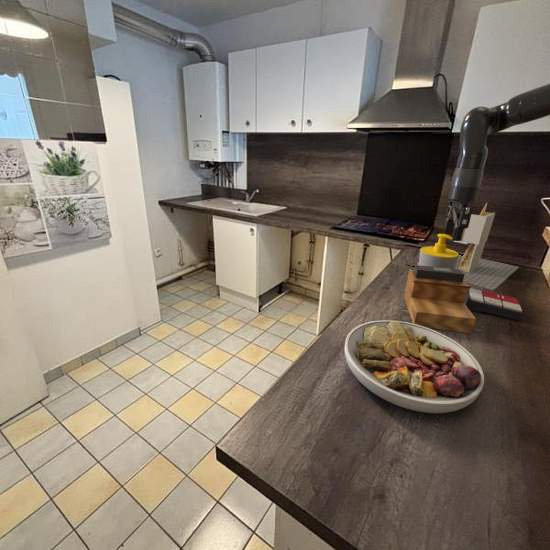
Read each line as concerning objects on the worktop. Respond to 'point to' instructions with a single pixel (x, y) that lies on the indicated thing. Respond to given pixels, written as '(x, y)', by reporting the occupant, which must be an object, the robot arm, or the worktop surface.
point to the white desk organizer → (472, 263)
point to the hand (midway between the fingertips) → (451, 237)
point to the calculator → (493, 304)
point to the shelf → (438, 304)
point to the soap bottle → (438, 254)
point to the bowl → (413, 366)
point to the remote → (438, 273)
